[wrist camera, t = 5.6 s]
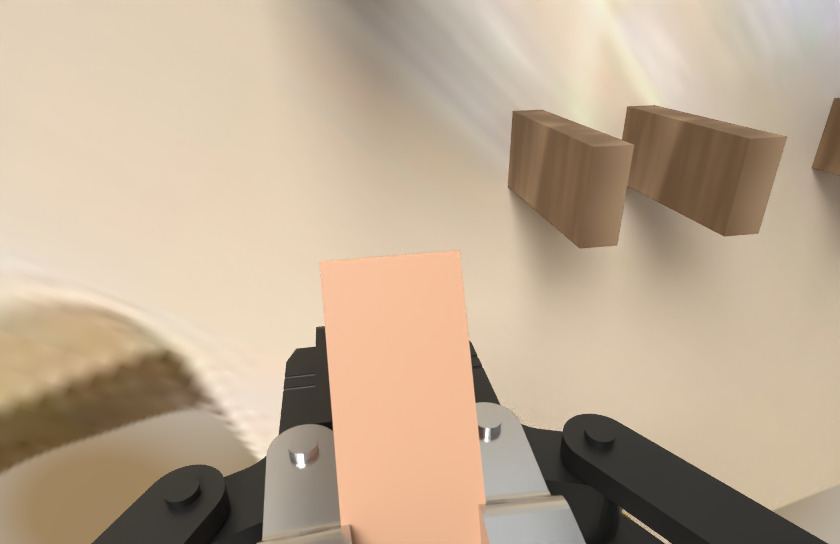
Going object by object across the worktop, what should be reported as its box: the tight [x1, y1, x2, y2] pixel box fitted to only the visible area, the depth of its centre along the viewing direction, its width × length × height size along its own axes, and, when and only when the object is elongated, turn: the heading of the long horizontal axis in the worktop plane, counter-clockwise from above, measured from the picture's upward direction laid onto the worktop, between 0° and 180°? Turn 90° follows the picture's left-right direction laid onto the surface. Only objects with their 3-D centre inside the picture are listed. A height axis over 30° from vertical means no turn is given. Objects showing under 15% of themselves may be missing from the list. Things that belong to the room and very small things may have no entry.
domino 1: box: [320, 250, 486, 544], centre depth 12 cm, size 2×5×11 cm
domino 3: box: [622, 105, 787, 236], centre depth 30 cm, size 2×5×11 cm, turn 0°
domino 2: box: [508, 110, 634, 248], centre depth 29 cm, size 2×5×11 cm, turn 1°
